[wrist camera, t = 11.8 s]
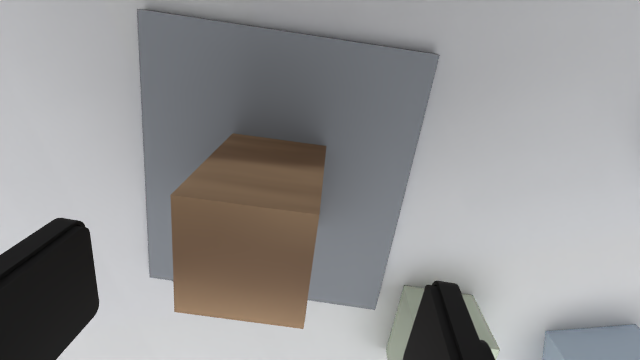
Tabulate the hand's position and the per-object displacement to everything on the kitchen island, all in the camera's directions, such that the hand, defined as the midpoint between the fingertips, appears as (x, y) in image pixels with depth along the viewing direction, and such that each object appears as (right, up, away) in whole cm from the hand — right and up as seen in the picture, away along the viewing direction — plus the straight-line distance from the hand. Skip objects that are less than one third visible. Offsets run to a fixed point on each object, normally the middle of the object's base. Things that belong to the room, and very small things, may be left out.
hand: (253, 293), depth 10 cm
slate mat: (0, +3, +9) cm, 9 cm away
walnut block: (0, +3, +8) cm, 9 cm away
